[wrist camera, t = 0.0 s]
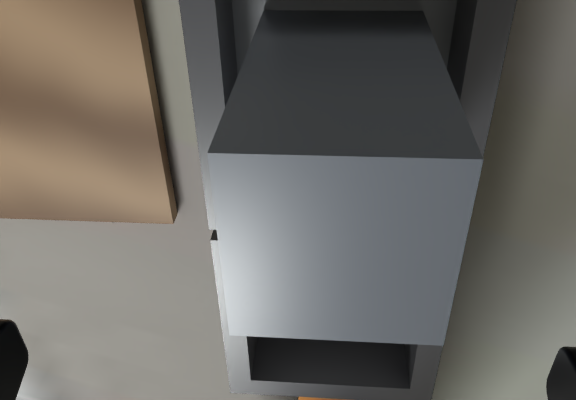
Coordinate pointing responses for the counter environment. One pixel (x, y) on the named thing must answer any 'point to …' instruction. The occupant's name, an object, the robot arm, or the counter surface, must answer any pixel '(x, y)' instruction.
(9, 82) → the walnut board
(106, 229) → the counter surface
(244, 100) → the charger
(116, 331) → the counter surface
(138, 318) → the counter surface
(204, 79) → the power strip
